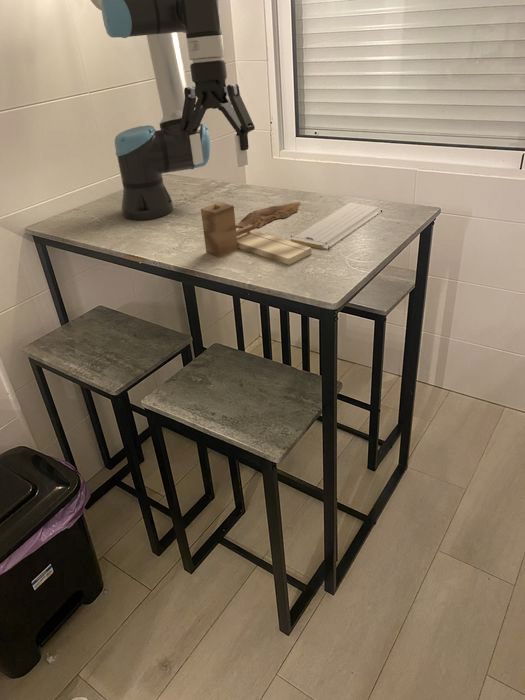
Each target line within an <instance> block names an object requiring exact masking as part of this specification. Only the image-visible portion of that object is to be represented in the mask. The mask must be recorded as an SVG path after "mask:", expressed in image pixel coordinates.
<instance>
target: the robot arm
mask: <svg viewBox="0 0 525 700" xmlns="http://www.w3.org/2000/svg"><path fill="white" fill-rule="evenodd" d="M90 1H91V3H92V4H93V6H94V7H96V8H97V9H98V10H99V11H101V15H102V20H103V24H104V25H103V26H104V28H105V32H106V34H107V35H108V37H110V38H115V39H116V38H122V39H127V38H130V37H139V36H140V37H141V36H146V39H147V45H148V49H149V54H150V59H151V63H152V69H153V73H154V78H155V82H156V87H157V92H158V96H159V103H160V107H161V112H162V118H161V120H160V122H159V130H156V128H155V127H154V126H152V125H149V124H148V125H140V126H135V127H132V128H128V129H126V130H124V131H121V132H119V133H118V134H117V135H116V136H115V138H114V148H115V156H116V157H117V163H118V167H119V171H120V178H121V183H122V187H123V191H122V192H123V194H122V201H121V212H122V216H123V217H124V218H125V219H129V220H134V221H135V220H136V221H143V220H145V221H146V220H147V221H148V220H153V219H158V218H161V217H165V216H167V215H168V214H170V213H172V212H173V210H174V205H173V200H172V198H171V196H170V194H169V192H168V190H167V188H166V186H165V184H164V179H163V178H164V177H163V174H168V173H173V172H174V173H175V172H180V171H186V170H195V169H198V168H202V167H205V166H206V165H207V164H208V162H209V160H210V153H211V139H210V132H209V129H208V126H207V124H205V123H203V122H202V121H203V118H204V116H205V114H206V111H208V110H209V109H212V110H215V109H217V110H218V111H220V112H221V113H222V114H223V116H224V117H225V118H226V120H227V122H229V124H230V125H231V127H232V128H233V129H234V131H235V132H236V134H235V135H234V141H235V143H234V144H235V151H236V162H237V167H238V168H241V167H245V166H248V165H249V161H248V152H247V150H249V138H248V136H249V135H248V134H249V133H250V132H252V131H254V130H255V125H254V123H253V121H252V118H251V115H250V113H249V111H248V109H247V107H246V105H245V103H244V100H243V98H242V96H241V92H240V87H239V85H238V84H237V83H232V84H228V85H227V83H226V79H227V77H228V73H227V67H226V66H227V65H226V61H225V60H224V59H223V58H224V57H225V56H226V54H225V48H224V38H223V31H222V22H221V12H220V11H221V9H220V2H219V0H90ZM179 33H183V34H185V37H186V45H187V51H188V58H189V61H192V63H190V65H189V67H190V75H191V81H192V83H194V86H189V85H188V79H187V75H186V70H185V65H184V60H183V59H184V58H183V54H182V48H181V44H180V38H179ZM201 122H202V123H201Z"/></svg>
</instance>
